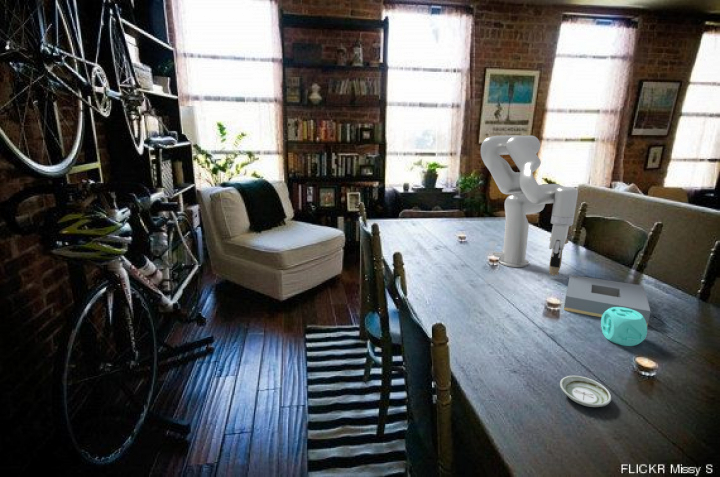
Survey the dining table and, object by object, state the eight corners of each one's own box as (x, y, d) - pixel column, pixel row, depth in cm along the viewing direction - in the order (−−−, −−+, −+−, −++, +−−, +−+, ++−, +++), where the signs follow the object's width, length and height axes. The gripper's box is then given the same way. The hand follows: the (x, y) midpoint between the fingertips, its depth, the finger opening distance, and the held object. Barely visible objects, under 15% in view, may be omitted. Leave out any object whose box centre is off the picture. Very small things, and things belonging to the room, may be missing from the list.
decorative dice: (644, 347, 99) (650, 320, 97) (611, 345, 101) (616, 318, 99) (629, 332, 107) (633, 307, 105) (598, 330, 108) (603, 305, 106)
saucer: (561, 407, 79) (563, 398, 78) (556, 380, 87) (557, 371, 87) (615, 419, 75) (617, 409, 75) (603, 389, 84) (605, 380, 83)
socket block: (563, 309, 121) (565, 295, 120) (568, 287, 139) (570, 274, 138) (647, 326, 110) (650, 311, 109) (640, 299, 128) (643, 285, 127)
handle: (563, 277, 144) (569, 241, 140) (545, 275, 146) (551, 239, 142) (561, 273, 148) (567, 237, 144) (543, 271, 150) (549, 236, 146)
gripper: (553, 214, 149) (547, 257, 155) (548, 223, 136) (541, 269, 141) (574, 216, 145) (567, 260, 151) (571, 226, 132) (564, 273, 137)
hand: (555, 264), depth 146 cm, fingers closed on handle, 3 cm apart
